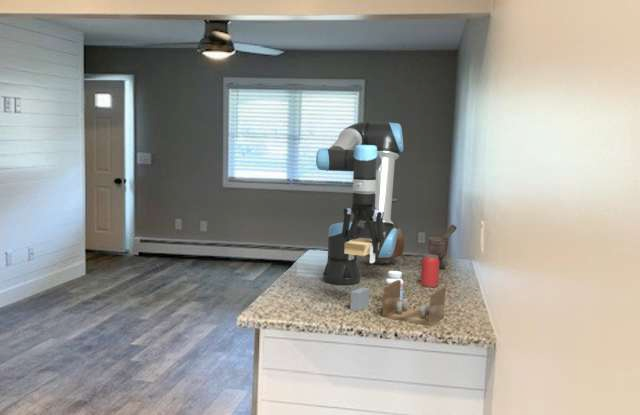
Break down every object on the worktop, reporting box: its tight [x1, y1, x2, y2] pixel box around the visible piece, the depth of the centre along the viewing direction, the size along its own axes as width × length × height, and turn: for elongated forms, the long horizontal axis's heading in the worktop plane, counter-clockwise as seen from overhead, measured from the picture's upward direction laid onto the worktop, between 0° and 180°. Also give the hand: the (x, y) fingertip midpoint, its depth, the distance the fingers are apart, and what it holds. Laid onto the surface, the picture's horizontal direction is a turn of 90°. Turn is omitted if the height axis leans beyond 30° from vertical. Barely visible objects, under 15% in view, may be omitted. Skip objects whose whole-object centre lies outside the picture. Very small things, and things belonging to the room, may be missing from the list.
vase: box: [368, 198, 405, 265], centre depth 272 cm, size 23×19×30 cm
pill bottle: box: [384, 270, 404, 301], centre depth 206 cm, size 6×6×11 cm
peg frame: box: [382, 280, 446, 327], centre depth 191 cm, size 16×11×10 cm
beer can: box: [420, 253, 440, 288], centre depth 235 cm, size 7×7×12 cm
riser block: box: [349, 286, 370, 312], centre depth 201 cm, size 3×8×6 cm, turn 151°
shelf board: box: [344, 238, 379, 257], centre depth 199 cm, size 12×7×4 cm, turn 150°
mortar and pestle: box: [428, 224, 458, 269], centre depth 269 cm, size 12×9×20 cm
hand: (361, 260), depth 200 cm, fingers closed on shelf board, 7 cm apart
